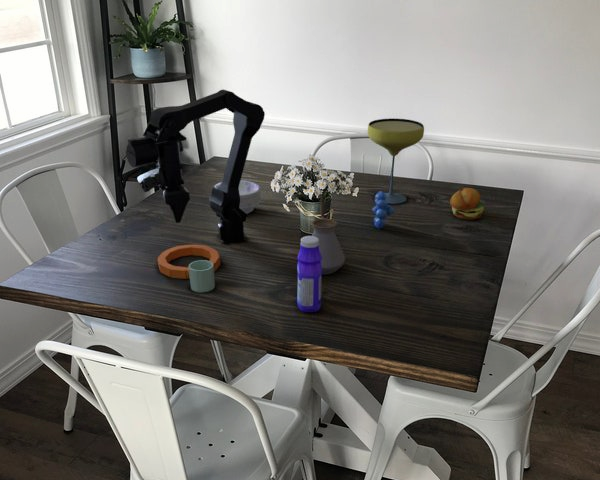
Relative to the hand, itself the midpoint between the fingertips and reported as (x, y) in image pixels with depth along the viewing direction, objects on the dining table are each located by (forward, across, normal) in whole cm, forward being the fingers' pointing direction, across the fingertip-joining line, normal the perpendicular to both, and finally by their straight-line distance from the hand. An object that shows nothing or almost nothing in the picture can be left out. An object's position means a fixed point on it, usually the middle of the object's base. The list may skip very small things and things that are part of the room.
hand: (175, 216), depth 168 cm
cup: (+11, +21, +2) cm, 24 cm away
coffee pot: (+12, +16, +36) cm, 42 cm away
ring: (+11, +8, +1) cm, 14 cm away
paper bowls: (+12, -28, +23) cm, 38 cm away
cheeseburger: (+12, 0, +91) cm, 92 cm away
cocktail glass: (+12, -22, +75) cm, 79 cm away
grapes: (+12, +1, +61) cm, 62 cm away
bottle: (+12, +39, +25) cm, 48 cm away
